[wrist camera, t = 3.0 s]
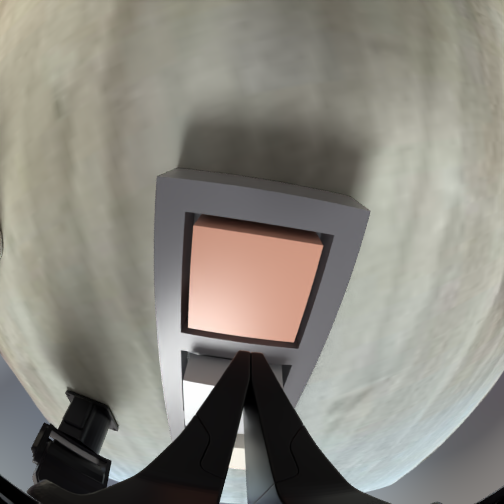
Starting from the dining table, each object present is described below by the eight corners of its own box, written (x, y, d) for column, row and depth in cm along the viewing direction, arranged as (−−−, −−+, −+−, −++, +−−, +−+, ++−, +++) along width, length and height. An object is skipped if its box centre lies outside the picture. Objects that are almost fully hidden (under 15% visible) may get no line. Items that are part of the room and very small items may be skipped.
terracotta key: (290, 317, 17) (293, 342, 15) (196, 303, 17) (188, 327, 15) (313, 228, 15) (323, 245, 12) (203, 211, 14) (193, 225, 12)
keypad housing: (263, 440, 26) (263, 462, 23) (178, 428, 26) (173, 450, 23) (350, 196, 15) (370, 211, 12) (177, 167, 14) (156, 176, 11)
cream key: (248, 451, 23) (247, 469, 21) (191, 443, 23) (188, 462, 20) (258, 427, 20) (257, 449, 18) (190, 418, 20) (186, 440, 18)
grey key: (264, 411, 19) (264, 435, 17) (190, 401, 19) (185, 425, 17) (281, 365, 17) (283, 393, 15) (190, 353, 17) (182, 380, 14)
